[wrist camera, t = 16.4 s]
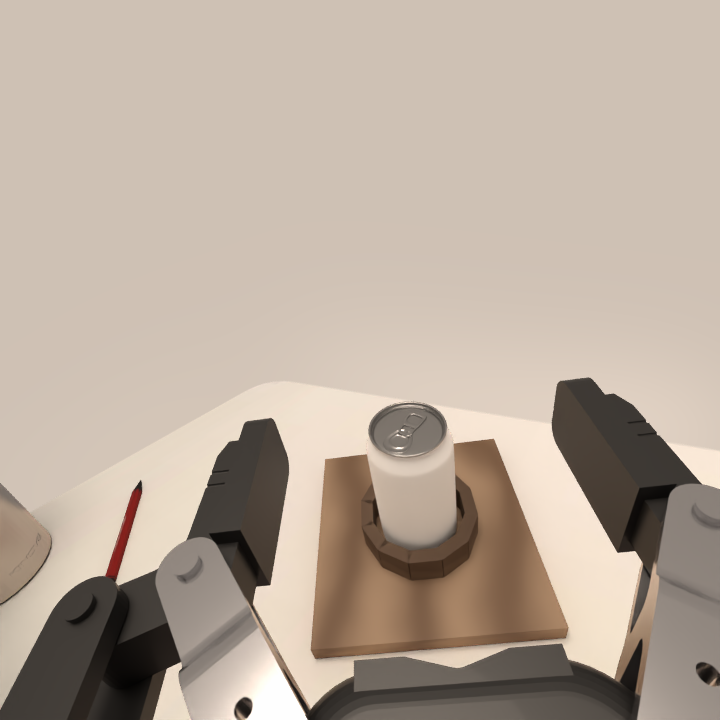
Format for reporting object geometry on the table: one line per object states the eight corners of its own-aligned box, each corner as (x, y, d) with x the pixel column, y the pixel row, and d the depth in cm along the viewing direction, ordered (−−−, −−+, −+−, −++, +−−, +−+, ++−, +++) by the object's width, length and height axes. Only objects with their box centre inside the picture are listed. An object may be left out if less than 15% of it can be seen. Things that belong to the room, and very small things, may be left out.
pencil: (146, 481, 48) (142, 476, 48) (112, 599, 37) (106, 594, 36) (139, 483, 48) (135, 477, 48) (102, 602, 37) (96, 596, 36)
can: (369, 540, 36) (345, 443, 29) (404, 485, 40) (390, 389, 33) (438, 576, 32) (428, 474, 26) (468, 512, 36) (467, 410, 30)
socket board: (315, 658, 30) (302, 634, 28) (328, 468, 45) (320, 443, 43) (565, 637, 29) (573, 610, 27) (493, 448, 44) (494, 421, 42)
